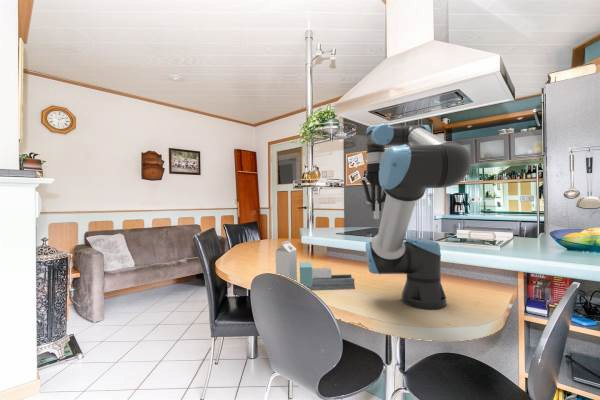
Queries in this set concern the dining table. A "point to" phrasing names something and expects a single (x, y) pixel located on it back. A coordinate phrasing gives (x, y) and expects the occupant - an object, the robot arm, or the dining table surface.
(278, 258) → the milk carton
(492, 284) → the dining table surface
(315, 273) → the sliding block
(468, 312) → the dining table surface
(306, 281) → the socket housing
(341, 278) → the guide channel
